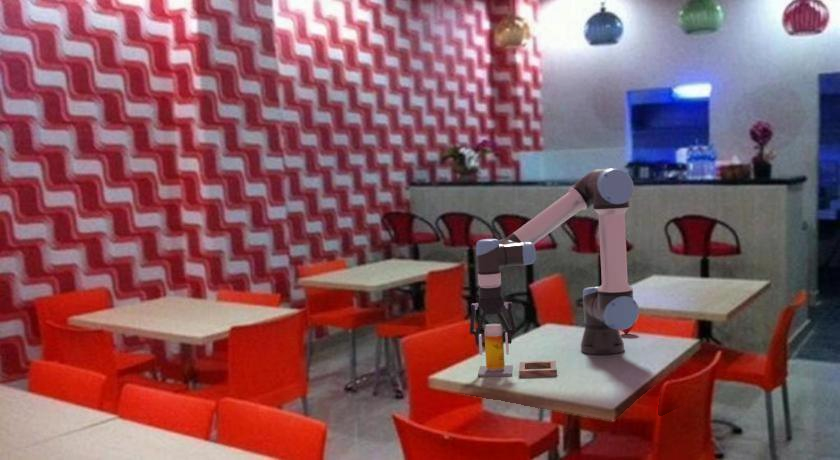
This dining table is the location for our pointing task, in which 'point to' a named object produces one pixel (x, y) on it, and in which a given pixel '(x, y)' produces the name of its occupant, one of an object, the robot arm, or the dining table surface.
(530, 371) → the tray
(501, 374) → the coaster
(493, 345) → the glass of beer
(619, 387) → the dining table surface
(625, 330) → the strawberry
